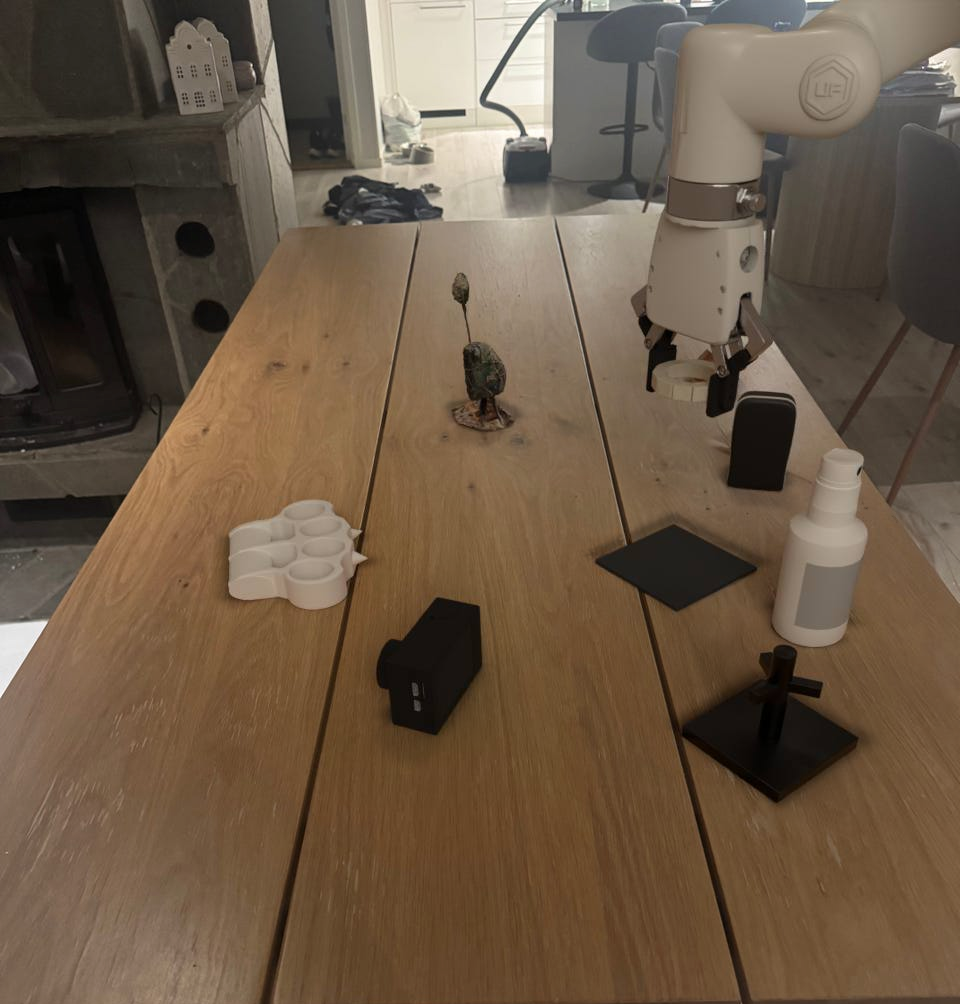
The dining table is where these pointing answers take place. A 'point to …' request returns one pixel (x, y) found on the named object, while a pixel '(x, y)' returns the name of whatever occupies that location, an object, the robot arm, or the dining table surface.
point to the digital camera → (432, 665)
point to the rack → (772, 730)
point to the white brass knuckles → (294, 556)
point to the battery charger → (761, 440)
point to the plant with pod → (480, 376)
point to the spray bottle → (823, 556)
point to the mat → (675, 566)
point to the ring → (677, 389)
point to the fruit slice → (707, 357)
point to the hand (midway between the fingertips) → (688, 399)
